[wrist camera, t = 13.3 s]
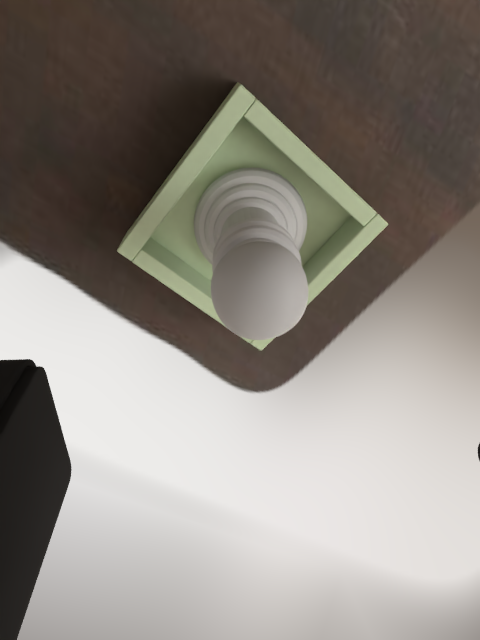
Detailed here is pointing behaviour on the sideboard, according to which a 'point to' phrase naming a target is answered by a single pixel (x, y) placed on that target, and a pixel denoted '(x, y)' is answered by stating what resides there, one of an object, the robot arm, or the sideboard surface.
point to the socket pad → (235, 153)
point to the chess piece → (254, 251)
